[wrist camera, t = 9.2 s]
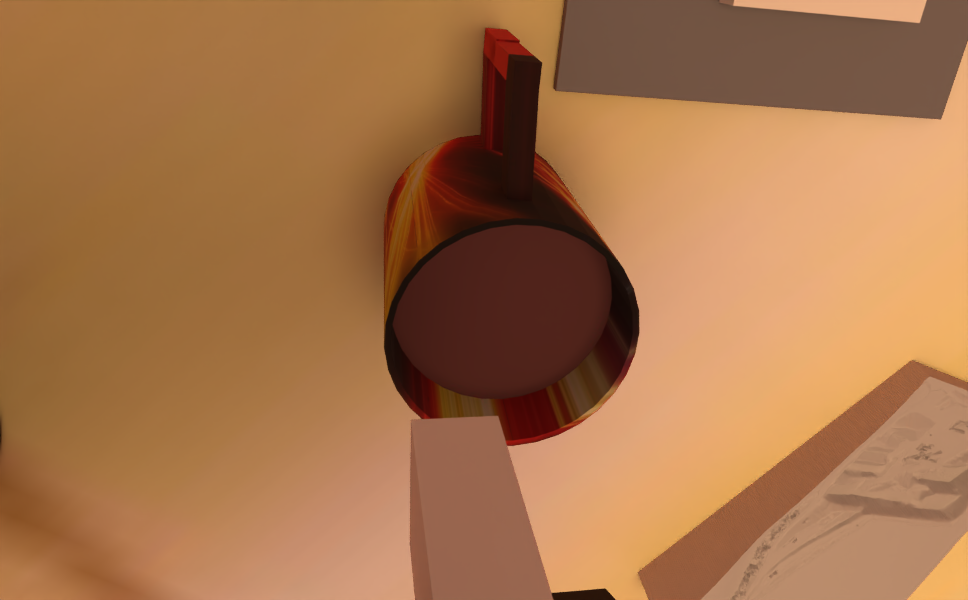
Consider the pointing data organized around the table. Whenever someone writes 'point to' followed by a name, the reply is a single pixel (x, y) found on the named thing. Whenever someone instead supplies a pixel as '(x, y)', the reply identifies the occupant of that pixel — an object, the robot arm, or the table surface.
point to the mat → (762, 55)
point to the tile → (845, 7)
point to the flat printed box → (840, 507)
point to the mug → (502, 275)
